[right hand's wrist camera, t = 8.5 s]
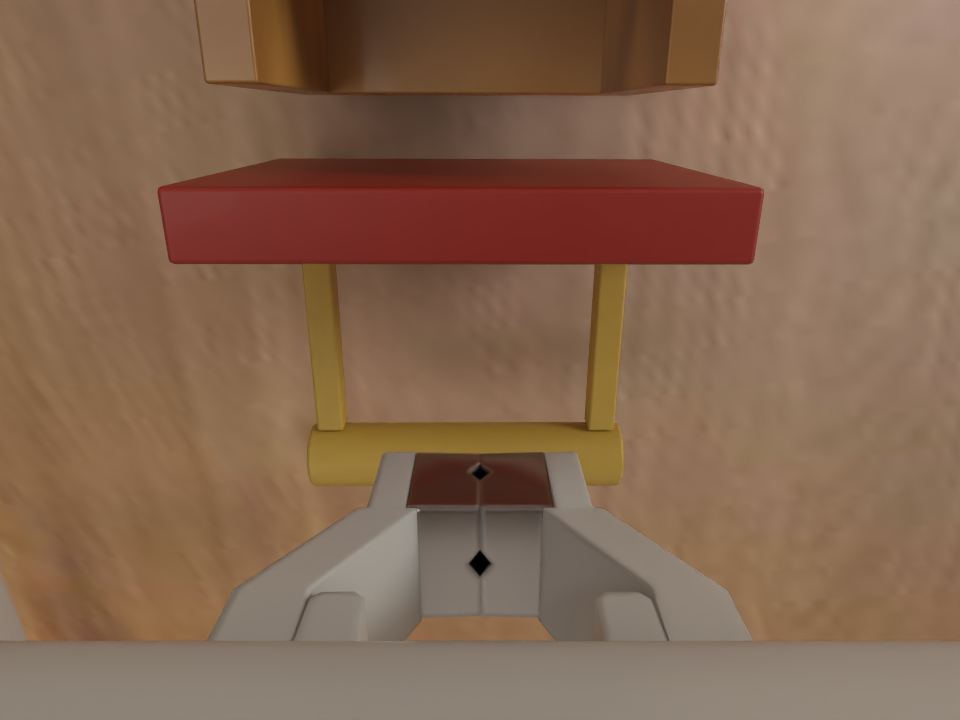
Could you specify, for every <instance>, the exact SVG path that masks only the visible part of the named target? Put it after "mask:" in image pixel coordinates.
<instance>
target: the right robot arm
mask: <svg viewBox="0 0 960 720" xmlns="http://www.w3.org/2000/svg"><path fill="white" fill-rule="evenodd" d="M457 616H502V617H539V621H540V622H541V623H542V625H543V626H544V627H545V628H546V629H547V631H548V632H549V633H550V634H551V636H552V637H553V638H554V639H555V640H556V641H405V640H406V639H407V637H408V636H409V635H410V634H411V632H412V631H413V630H414V629H415V628H416V626H417V625H418V624H419V623H420V622H421V617H457ZM0 720H960V641H753V640H752V638H751V636H750V634H749V632H748V630H747V628H746V626H745V624H744V622H743V620H742V618H741V616H740V614H739V612H738V611H737V609H736V607H735V605H734V603H733V601H732V599H731V597H730V595H729V593H728V591H727V590H726V589H725V588H723V587H722V586H720V585H719V584H717V583H716V582H714V581H713V580H711V579H710V578H708V577H706V576H705V575H703V574H702V573H700V572H699V571H697V570H696V569H694V568H693V567H691V566H690V565H688V564H687V563H685V562H684V561H682V560H681V559H679V558H678V557H676V556H674V555H673V554H671V553H670V552H668V551H667V550H665V549H664V548H662V547H661V546H659V545H658V544H656V543H655V542H653V541H652V540H650V539H649V538H647V537H646V536H644V535H643V534H641V533H639V532H638V531H636V530H635V529H633V528H632V527H630V526H629V525H627V524H626V523H624V522H623V521H621V520H620V519H618V518H617V517H615V516H614V515H612V514H611V513H609V512H607V511H606V510H604V509H603V508H593V507H592V503H591V500H590V496H589V493H588V489H587V486H586V482H585V479H584V475H583V472H582V469H581V465H580V462H579V458H578V455H577V453H576V452H574V451H570V452H548V453H543V452H524V453H482V454H480V453H436V452H418V453H416V452H415V451H412V452H385V453H384V454H383V455H382V457H381V461H380V464H379V468H378V471H377V475H376V478H375V482H374V485H373V489H372V492H371V496H370V499H369V503H368V506H367V508H357V509H356V510H354V511H352V512H351V513H349V514H348V515H346V516H345V517H343V518H342V519H340V520H339V521H337V522H336V523H334V524H333V525H331V526H330V527H328V528H326V529H325V530H323V531H322V532H320V533H319V534H317V535H316V536H314V537H313V538H311V539H310V540H308V541H307V542H305V543H304V544H302V545H300V546H299V547H297V548H296V549H294V550H293V551H291V552H290V553H288V554H287V555H285V556H284V557H282V558H281V559H279V560H278V561H276V562H274V563H273V564H271V565H270V566H268V567H267V568H265V569H264V570H262V571H261V572H259V573H258V574H256V575H255V576H253V577H252V578H250V579H248V580H247V581H245V582H244V583H242V584H241V585H239V586H238V587H236V588H235V589H234V590H233V592H232V594H231V596H230V597H229V599H228V601H227V603H226V605H225V607H224V609H223V611H222V613H221V615H220V617H219V619H218V621H217V623H216V624H215V626H214V628H213V630H212V632H211V634H210V636H209V638H208V640H207V641H0Z"/></svg>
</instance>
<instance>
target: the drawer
mask: <svg viewBox="0 0 960 720" xmlns="http://www.w3.org/2000/svg"><path fill="white" fill-rule="evenodd" d="M194 4H195V12H196V19H197V27H198V34H199V42H200V49H201V56H202V64H203V71H204V79H205V82H206V83H208V84H216V85H225V86H234V87H243V88H251V89H260V90H269V91H278V92H287V93H296V94H304V95H575V96H628V95H637V94H645V93H654V92H662V91H671V90H679V89H688V88H697V87H705V86H713V85H716V83H717V79H718V70H719V62H720V54H721V46H722V37H723V29H724V21H725V13H726V4H727V0H194ZM763 196H764V191H763V189H762V188H759V187H756V186H752V185H748V184H744V183H740V182H736V181H732V180H729V179H725V178H721V177H717V176H713V175H709V174H705V173H701V172H698V171H694V170H690V169H686V168H682V167H678V166H674V165H671V164H667V163H663V162H659V161H655V160H617V159H277V160H272V161H268V162H264V163H259V164H255V165H251V166H247V167H242V168H238V169H234V170H230V171H225V172H221V173H217V174H212V175H208V176H204V177H200V178H195V179H191V180H187V181H182V182H178V183H174V184H170V185H165V186H162V187H160V188H158V197H159V203H160V209H161V215H162V221H163V227H164V233H165V239H166V245H167V251H168V257H169V260H170V262H171V263H174V264H302V268H303V279H304V289H305V300H306V311H307V321H308V332H309V342H310V353H311V364H312V374H313V385H314V395H315V406H316V416H317V424H314V426H313V427H312V430H311V433H310V436H309V441H308V449H307V467H308V474H309V478H310V481H311V483H312V484H313V485H315V486H373V485H374V482H375V478H376V475H377V471H378V468H379V464H380V461H381V457H382V455H383V454H384V453H385V452H412V451H415V452H416V453H418V452H436V453H480V454H482V453H524V452H543V453H548V452H570V451H574V452H576V453H577V455H578V458H579V462H580V465H581V469H582V472H583V475H584V479H585V482H586V485H617V484H619V483H620V481H621V479H622V475H623V469H624V445H623V438H622V433H621V430H620V428H619V426H618V424H617V423H614V422H615V410H616V398H617V386H618V374H619V362H620V350H621V338H622V326H623V315H624V303H625V291H626V279H627V267H628V264H750V263H752V262H753V260H754V255H755V249H756V242H757V236H758V229H759V223H760V216H761V209H762V203H763ZM336 264H595V270H594V285H593V300H592V315H591V330H590V346H589V361H588V376H587V391H586V406H585V421H586V422H507V423H346V421H347V408H346V395H345V381H344V368H343V355H342V342H341V329H340V316H339V303H338V289H337V276H336Z"/></svg>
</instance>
